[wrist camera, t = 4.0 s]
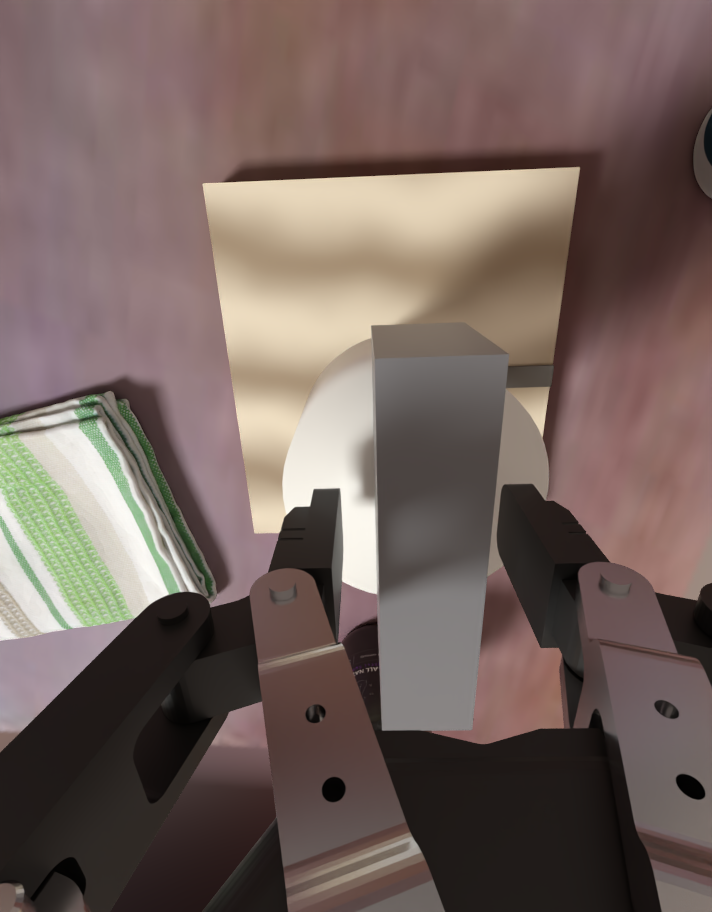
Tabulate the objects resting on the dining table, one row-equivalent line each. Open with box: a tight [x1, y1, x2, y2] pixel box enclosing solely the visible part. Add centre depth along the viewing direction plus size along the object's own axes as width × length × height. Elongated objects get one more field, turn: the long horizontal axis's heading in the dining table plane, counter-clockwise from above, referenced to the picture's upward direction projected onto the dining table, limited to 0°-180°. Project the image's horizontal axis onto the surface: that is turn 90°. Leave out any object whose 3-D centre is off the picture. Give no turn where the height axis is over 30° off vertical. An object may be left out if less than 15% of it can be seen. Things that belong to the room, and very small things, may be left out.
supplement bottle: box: [342, 624, 432, 733], centre depth 32 cm, size 7×7×12 cm
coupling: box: [282, 322, 549, 731], centre depth 14 cm, size 10×8×9 cm
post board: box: [203, 167, 580, 533], centre depth 23 cm, size 20×18×10 cm
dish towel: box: [0, 391, 217, 641], centre depth 32 cm, size 17×23×4 cm
